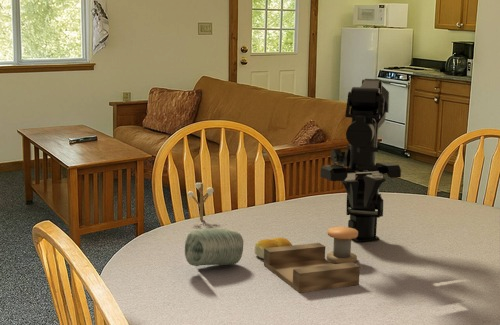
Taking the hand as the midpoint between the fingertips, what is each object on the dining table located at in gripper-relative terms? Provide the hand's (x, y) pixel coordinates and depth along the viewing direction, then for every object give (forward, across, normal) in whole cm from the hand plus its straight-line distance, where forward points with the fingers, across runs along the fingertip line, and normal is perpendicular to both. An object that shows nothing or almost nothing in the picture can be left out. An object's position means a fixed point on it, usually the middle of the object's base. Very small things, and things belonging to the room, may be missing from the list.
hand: (359, 207), depth 158 cm
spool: (+12, +37, -2) cm, 39 cm away
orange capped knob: (+12, +5, +1) cm, 13 cm away
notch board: (+12, +17, +8) cm, 22 cm away
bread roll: (+12, +17, -9) cm, 23 cm away
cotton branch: (+12, +26, -39) cm, 49 cm away
